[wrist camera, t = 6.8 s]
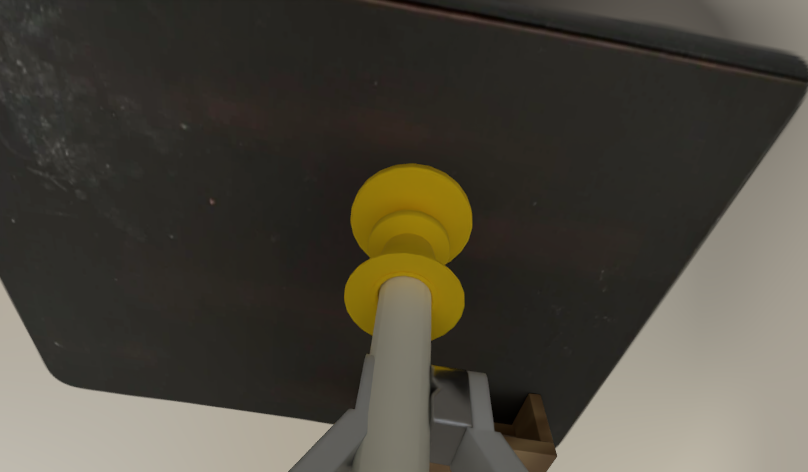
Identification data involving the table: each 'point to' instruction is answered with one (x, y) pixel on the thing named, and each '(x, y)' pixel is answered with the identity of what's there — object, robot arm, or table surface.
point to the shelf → (525, 437)
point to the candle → (405, 302)
